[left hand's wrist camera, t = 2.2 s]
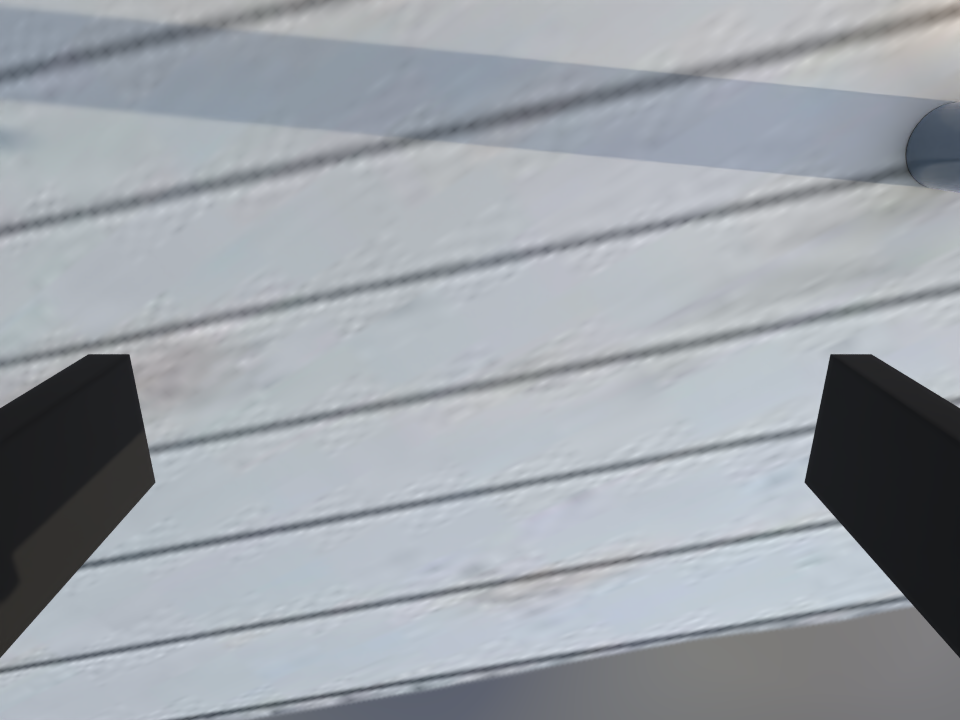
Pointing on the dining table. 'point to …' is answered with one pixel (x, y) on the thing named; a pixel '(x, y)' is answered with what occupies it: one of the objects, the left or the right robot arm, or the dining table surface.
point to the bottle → (937, 149)
